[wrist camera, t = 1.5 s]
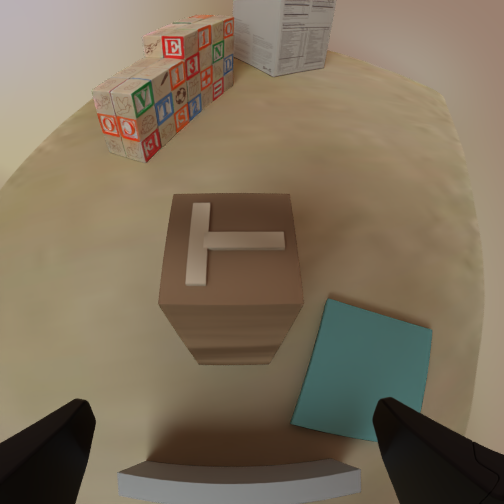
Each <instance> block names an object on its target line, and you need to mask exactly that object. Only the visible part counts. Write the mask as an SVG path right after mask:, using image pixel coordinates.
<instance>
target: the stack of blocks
mask: <svg viewBox="0 0 504 504" xmlns="http://www.w3.org/2000/svg"><path fill="white" fill-rule="evenodd" d="M233 34H234V17H231V16H218V15H215V16H214V15H195V16H192V17H189V18H183V19H181V20H178V21H175V22H173V23H172V24H169V25H166V26H164V27H162V28H159V29H158V30H155V31H153V32H151V33H148V34H146V35H144V36H142V41H143V50H144V58H142V59H141V60H139V61H137V62H135V63H134V64H132V65H131V66H129V67H126V68H125V69H123V70H121V71H120V72H119V73H117V74H115V75H113V76H112V77H111V78H109V79H107V80H106V81H104V82H103V83H101V84H100V85H98V86H97V87H95V88H94V89H92V95H93V99H94V102H95V106H96V109H97V112H98V113H97V115H98V119H99V122H100V125H101V128H102V131H103V133H104V137H105V139H106V142H107V145H108V148H109V151H110V152H111V153H114V154H117V155H121V156H124V157H127V158H130V159H134V160H137V161H140V162H144V163H146V162H147V161H148V160H149V159H150V158H151V157H152V156H153V155H154V154H155V153H156V152H157V151H158V150H159V149H160V148H161V147H163V146H164V145H165V144H166V143H167V142H168V141H169V140H170V139H171V138H172V137H174V135H175V134H176V133H178V132H179V131H180V130H181V129H182V128H183V127H184V126H186V125H187V124H188V123H189V121H191V120H192V119H193V118H194V117H195V116H196V115H197V114H198V113H200V112H201V110H203V109H204V108H205V107H206V106H208V105H209V104H210V103H211V102H212V101H214V100H215V99H217V98H218V97H219V96H220V95H222V94H223V93H224V92H225V91H227V90H228V89H229V88H230V87H232V86H233V52H234V35H233Z"/></svg>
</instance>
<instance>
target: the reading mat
mask: <svg viewBox="0 0 504 504" xmlns="http://www.w3.org/2000/svg"><path fill="white" fill-rule="evenodd" d="M431 340H432V330H431V329H428V328H424V327H421V326H418V325H414V324H411V323H407V322H404V321H401V320H397V319H394V318H391V317H387V316H384V315H381V314H377V313H374V312H371V311H368V310H364V309H361V308H358V307H355V306H351V305H348V304H345V303H342V302H338V301H335V300H332V299H329V298H328V299H327V301H326V304H325V308H324V312H323V316H322V320H321V323H320V327H319V331H318V335H317V338H316V342H315V346H314V349H313V353H312V356H311V359H310V363H309V366H308V370H307V373H306V376H305V379H304V383H303V386H302V389H301V392H300V395H299V398H298V401H297V404H296V407H295V410H294V413H293V416H292V419H291V422H290V424H293V425H297V426H301V427H305V428H309V429H313V430H317V431H322V432H326V433H331V434H336V435H341V436H346V437H351V438H357V439H363V440H369V441H376V442H378V441H377V437H376V433H375V430H374V426H373V422H372V418H373V414H374V411H375V408H376V405H377V403H378V401H379V400H380V399H381V398H386V397H393V398H395V399H396V400H398V401H400V402H402V403H403V404H405V405H407V406H409V407H410V408H412V409H414V410H416V411H417V412H419V413H420V412H421V407H422V402H423V397H424V391H425V385H426V379H427V373H428V366H429V358H430V349H431Z"/></svg>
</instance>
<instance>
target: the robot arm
mask: <svg viewBox="0 0 504 504" xmlns="http://www.w3.org/2000/svg"><path fill="white" fill-rule="evenodd" d="M372 422H373V426H374V430H375V433H376V437H377V441H378V444H379V448H380V452H381V456H382V459H383V462H384V464H385V467H386V469H387V472H388V474H389V477H390V479H391V482H392V485H393V487H394V490H395V492H396V495H397V497H398V500H399V503H400V504H504V455H503V454H500V453H498V452H495V451H492V450H490V449H488V448H486V447H484V446H482V445H479V444H478V443H476V442H472V440H470V439H468V438H466V437H464V436H462V435H460V434H458V433H456V432H454V431H452V430H450V429H449V428H447V427H445V426H443V425H441V424H439V423H437V422H436V421H434V420H432V419H430V418H428V417H426V416H425V415H423V414H421V413H419V412H417V411H416V410H414V409H412V408H410V407H409V406H407V405H405V404H403V403H402V402H400V401H398V400H396V399H395V398H393V397H386V398H381V399H380V400H379V401H378V403H377V405H376V408H375V411H374V414H373V418H372ZM95 425H96V420H95V416H94V414H93V412H92V409H91V407H90V404H89V402H88V401H86V400H83V399H78V398H77V399H74V400H72V401H71V402H69V403H67V404H66V405H64V406H62V407H61V408H59V409H57V410H56V411H54V412H52V413H51V414H49V415H47V416H46V417H44V418H42V419H41V420H39V421H37V422H36V423H34V424H32V425H31V426H29V427H27V428H26V429H24V430H22V431H21V432H19V433H17V434H15V435H14V436H12V437H10V438H8V439H7V440H5V441H3V442H1V443H0V504H75V503H76V499H77V496H78V492H79V489H80V486H81V482H82V479H83V476H84V473H85V469H86V466H87V463H88V459H89V454H90V449H91V444H92V439H93V434H94V430H95Z"/></svg>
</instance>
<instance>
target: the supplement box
mask: <svg viewBox="0 0 504 504" xmlns="http://www.w3.org/2000/svg"><path fill="white" fill-rule="evenodd" d="M335 5H336V0H233V17H234V34H233V35H234V52H233V57H235V58H237V59H240V60H242V61H244V62H246V63H248V64H250V65H252V66H254V67H255V68H257V69H259V70H261V71H263V72H265V73H267V74H269V75H271V76H273V77H275V76H280V75H285V74H290V73H295V72H301V71H307V70H313V69H320V68H324V63H325V58H326V53H327V48H328V43H329V37H330V32H331V27H332V22H333V16H334V11H335Z"/></svg>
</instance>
